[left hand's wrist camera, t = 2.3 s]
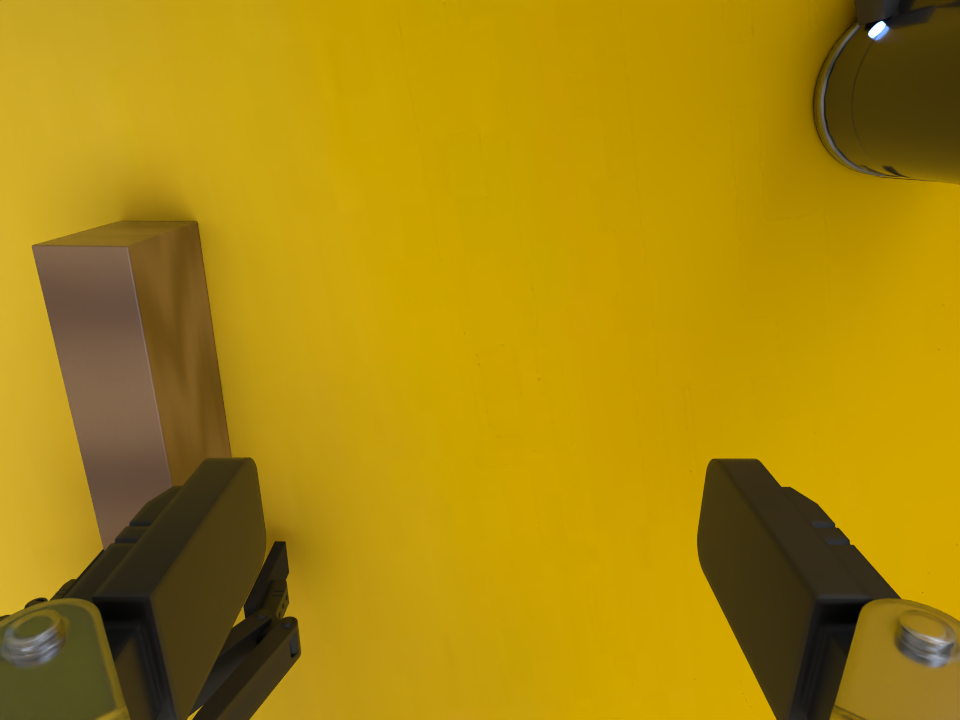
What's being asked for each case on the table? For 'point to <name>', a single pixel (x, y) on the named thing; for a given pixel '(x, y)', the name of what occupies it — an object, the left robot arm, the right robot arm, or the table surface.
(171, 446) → the bar
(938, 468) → the table surface
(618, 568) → the table surface
